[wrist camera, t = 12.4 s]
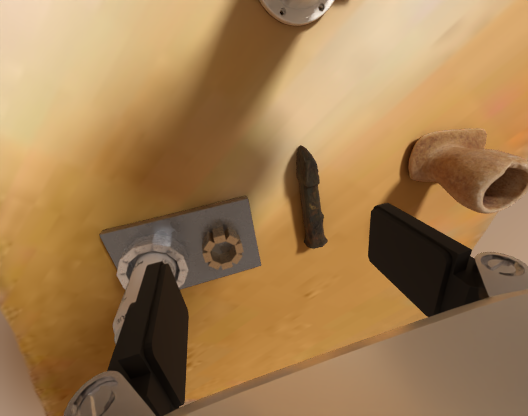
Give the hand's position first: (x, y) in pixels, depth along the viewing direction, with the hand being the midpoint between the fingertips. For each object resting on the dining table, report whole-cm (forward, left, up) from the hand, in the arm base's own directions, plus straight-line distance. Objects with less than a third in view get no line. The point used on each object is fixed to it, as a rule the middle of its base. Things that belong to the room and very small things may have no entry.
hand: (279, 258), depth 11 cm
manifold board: (+9, +15, -30) cm, 35 cm away
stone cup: (-42, +11, -30) cm, 52 cm away
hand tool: (-13, +12, -30) cm, 35 cm away
